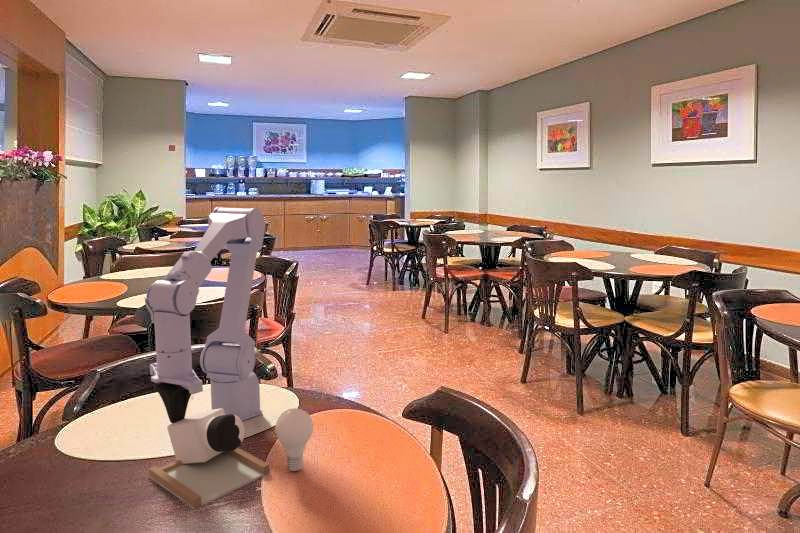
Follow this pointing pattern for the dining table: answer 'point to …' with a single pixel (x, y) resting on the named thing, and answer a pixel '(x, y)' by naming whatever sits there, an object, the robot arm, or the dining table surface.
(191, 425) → the medicine bottle
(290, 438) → the lightbulb
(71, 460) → the dining table surface
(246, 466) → the wooden serving tray
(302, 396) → the dining table surface
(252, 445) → the dining table surface
